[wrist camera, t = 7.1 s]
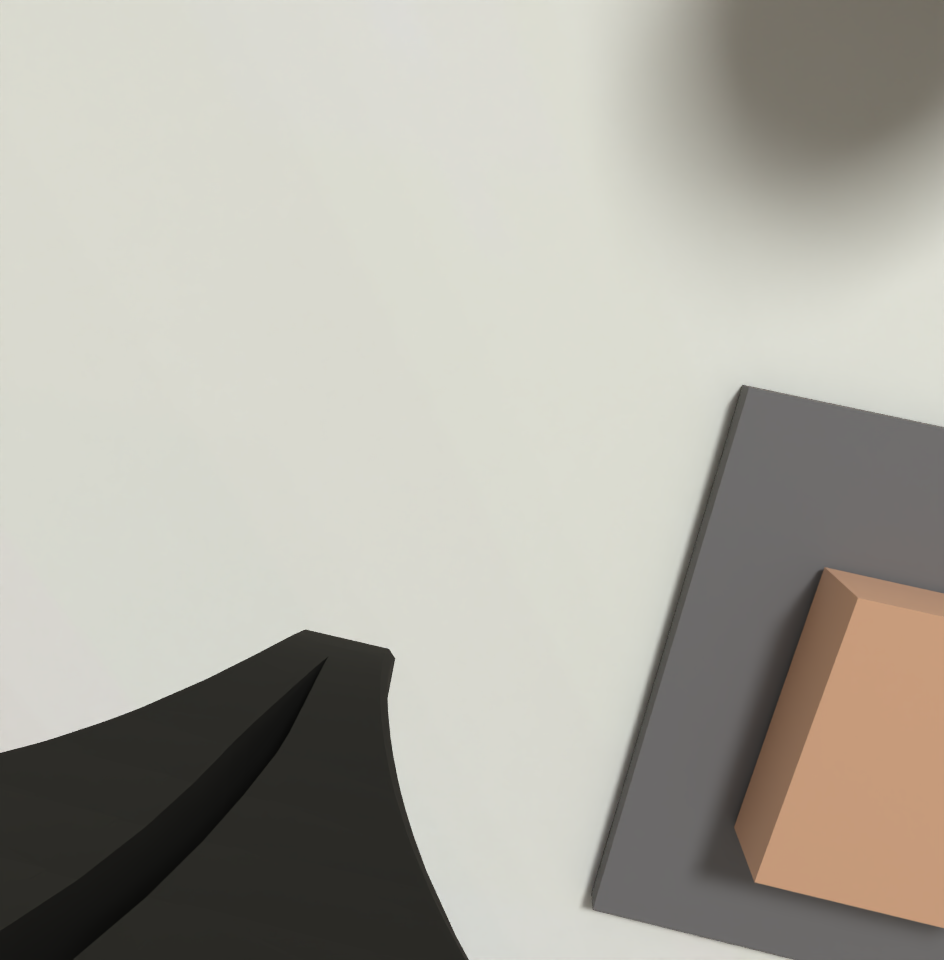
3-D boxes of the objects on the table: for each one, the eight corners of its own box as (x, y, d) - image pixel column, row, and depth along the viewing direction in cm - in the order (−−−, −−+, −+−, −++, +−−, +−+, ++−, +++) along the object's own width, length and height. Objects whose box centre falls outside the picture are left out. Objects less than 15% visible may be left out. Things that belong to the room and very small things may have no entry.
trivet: (1085, 1015, 21) (1100, 1035, 21) (591, 894, 22) (592, 909, 21) (1353, 513, 17) (1381, 520, 17) (742, 384, 18) (749, 387, 17)
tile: (732, 823, 20) (980, 882, 20) (754, 882, 18) (1031, 949, 18) (822, 564, 18) (1099, 626, 18) (858, 598, 16) (1171, 667, 16)
